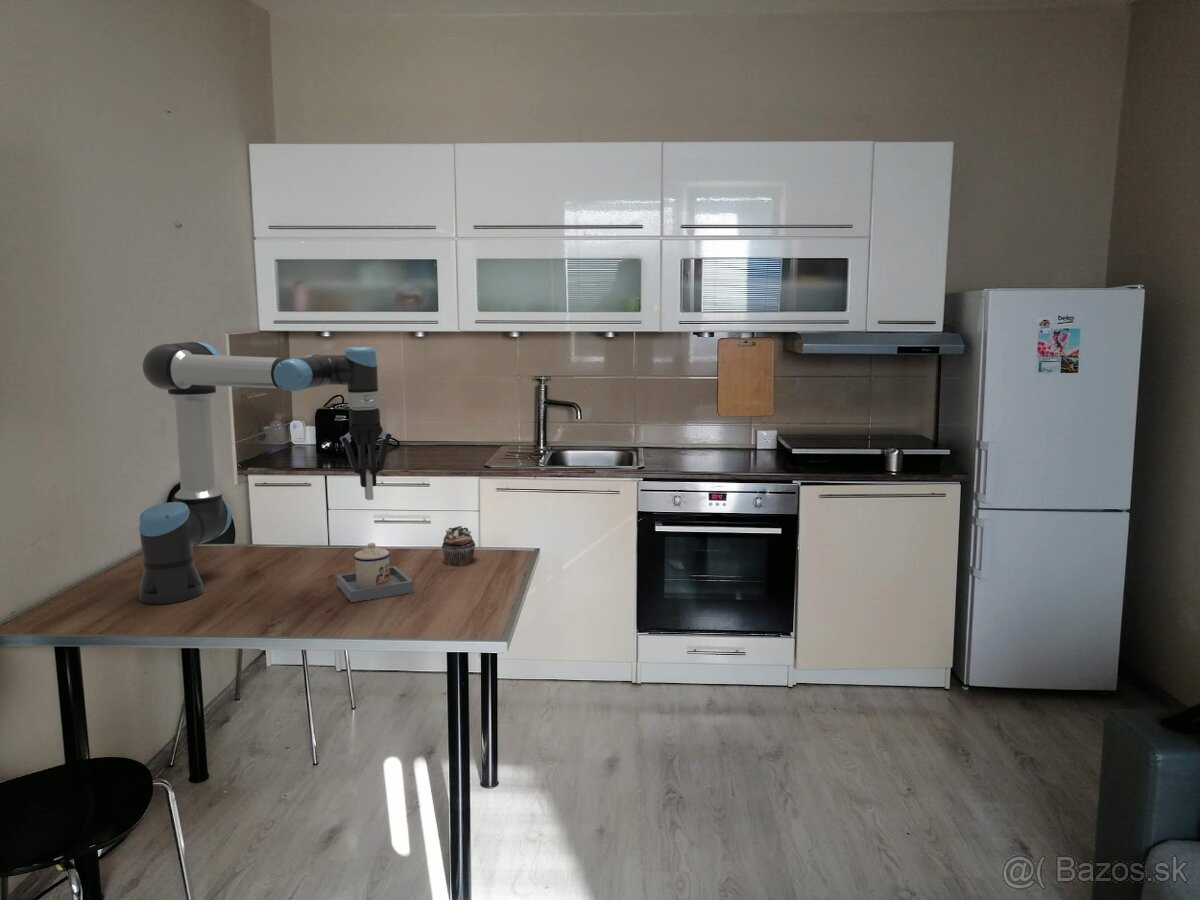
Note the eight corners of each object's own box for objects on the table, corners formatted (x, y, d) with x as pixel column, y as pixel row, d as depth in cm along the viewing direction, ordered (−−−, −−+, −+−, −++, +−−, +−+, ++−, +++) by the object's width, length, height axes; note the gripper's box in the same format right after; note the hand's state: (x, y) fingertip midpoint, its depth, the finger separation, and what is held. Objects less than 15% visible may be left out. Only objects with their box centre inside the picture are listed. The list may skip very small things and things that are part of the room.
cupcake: (435, 562, 260) (433, 528, 259) (461, 554, 268) (459, 522, 266) (456, 568, 254) (455, 533, 253) (482, 560, 261) (481, 527, 260)
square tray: (351, 603, 226) (350, 591, 225) (337, 586, 240) (336, 575, 239) (413, 592, 233) (413, 581, 233) (396, 576, 247) (395, 566, 247)
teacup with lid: (381, 593, 230) (379, 549, 228) (349, 591, 232) (346, 547, 230) (402, 579, 241) (400, 537, 239) (371, 577, 243) (368, 535, 241)
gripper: (341, 411, 222) (347, 504, 226) (393, 407, 228) (398, 498, 232) (334, 408, 229) (340, 499, 233) (385, 405, 235) (390, 493, 239)
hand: (369, 498), depth 232 cm, fingers closed
